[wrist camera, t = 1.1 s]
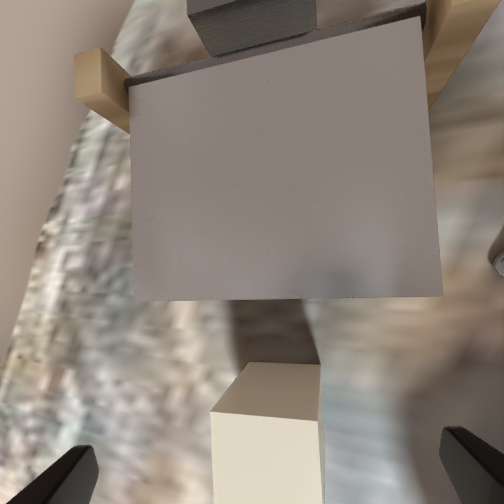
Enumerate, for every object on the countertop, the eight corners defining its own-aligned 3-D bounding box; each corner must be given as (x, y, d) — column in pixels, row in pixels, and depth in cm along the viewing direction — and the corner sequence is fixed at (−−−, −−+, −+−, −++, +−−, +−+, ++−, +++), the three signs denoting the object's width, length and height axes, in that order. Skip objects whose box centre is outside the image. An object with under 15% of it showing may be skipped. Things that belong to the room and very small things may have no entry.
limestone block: (325, 441, 19) (324, 542, 12) (252, 433, 20) (214, 521, 13) (320, 364, 19) (317, 421, 12) (249, 361, 20) (210, 411, 13)
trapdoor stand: (422, 287, 18) (537, 317, 8) (190, 293, 22) (78, 317, 12) (403, 46, 18) (487, -195, 9) (183, 95, 22) (72, -31, 13)
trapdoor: (432, 291, 11) (462, 299, 9) (152, 297, 14) (116, 304, 12) (404, -61, 12) (424, -145, 9) (144, 20, 15) (108, -27, 12)
